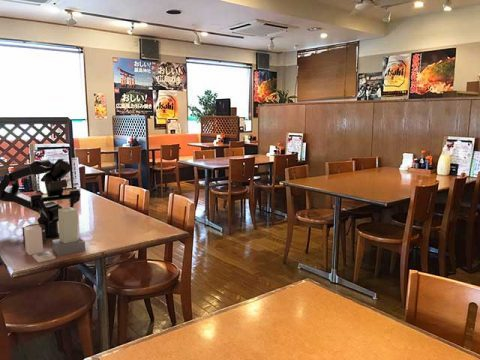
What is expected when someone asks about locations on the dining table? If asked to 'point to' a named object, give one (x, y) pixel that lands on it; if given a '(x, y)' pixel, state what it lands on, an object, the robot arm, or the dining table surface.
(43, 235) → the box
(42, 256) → the plaque
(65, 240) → the sage block
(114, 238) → the dining table surface
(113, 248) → the dining table surface
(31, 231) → the white block
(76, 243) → the slate base
